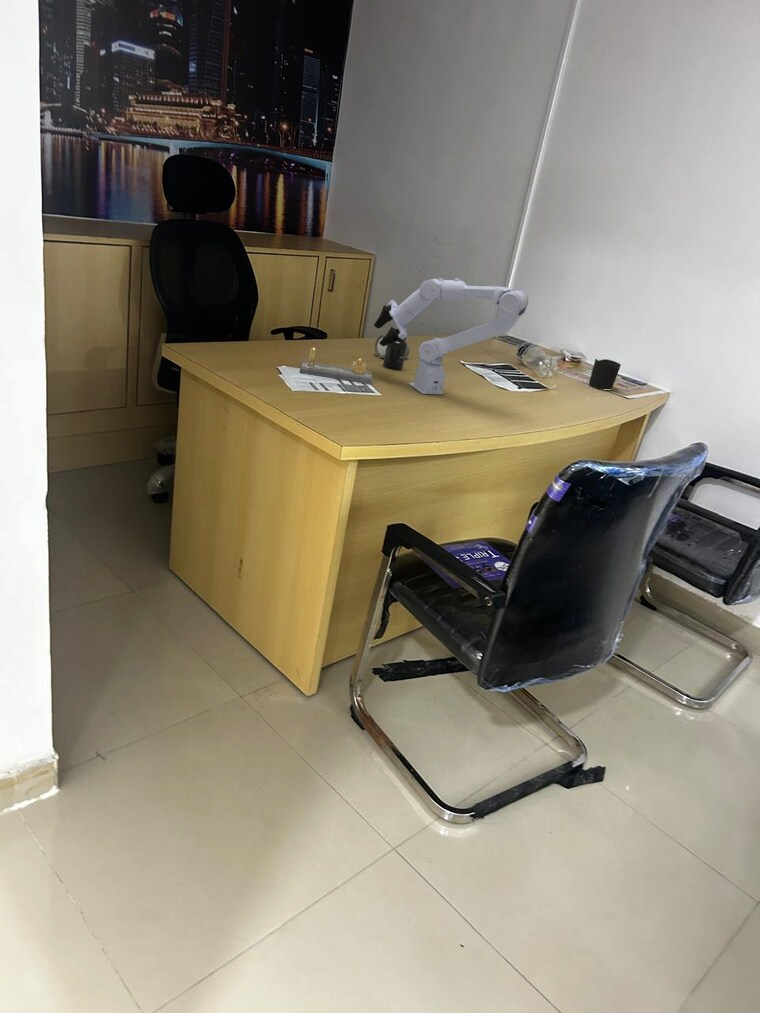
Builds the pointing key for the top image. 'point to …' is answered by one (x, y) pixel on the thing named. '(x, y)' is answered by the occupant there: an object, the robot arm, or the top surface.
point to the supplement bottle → (395, 355)
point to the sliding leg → (359, 366)
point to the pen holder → (604, 374)
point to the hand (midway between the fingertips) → (378, 335)
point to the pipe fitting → (381, 349)
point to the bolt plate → (333, 370)
